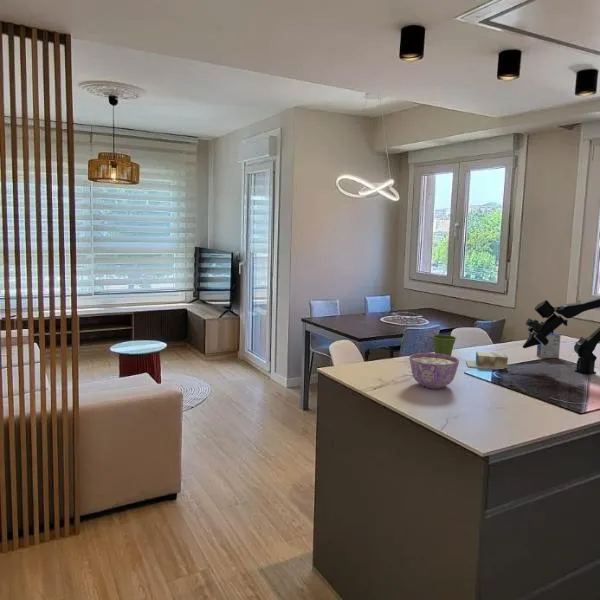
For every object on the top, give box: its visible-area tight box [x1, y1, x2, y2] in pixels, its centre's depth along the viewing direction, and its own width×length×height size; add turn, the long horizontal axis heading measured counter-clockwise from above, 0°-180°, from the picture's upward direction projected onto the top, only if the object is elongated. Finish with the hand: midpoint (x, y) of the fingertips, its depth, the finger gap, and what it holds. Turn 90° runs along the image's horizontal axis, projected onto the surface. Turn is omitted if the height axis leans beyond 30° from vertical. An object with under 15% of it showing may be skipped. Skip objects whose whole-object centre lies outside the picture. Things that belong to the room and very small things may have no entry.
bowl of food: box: [409, 352, 460, 390], centre depth 215 cm, size 20×20×12 cm
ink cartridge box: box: [536, 332, 562, 359], centre depth 269 cm, size 10×6×14 cm, turn 89°
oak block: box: [475, 350, 509, 369], centre depth 249 cm, size 5×9×13 cm
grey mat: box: [465, 359, 505, 370], centre depth 250 cm, size 16×12×1 cm
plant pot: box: [431, 334, 457, 356], centre depth 261 cm, size 12×12×11 cm
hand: (523, 347), depth 245 cm, fingers closed
